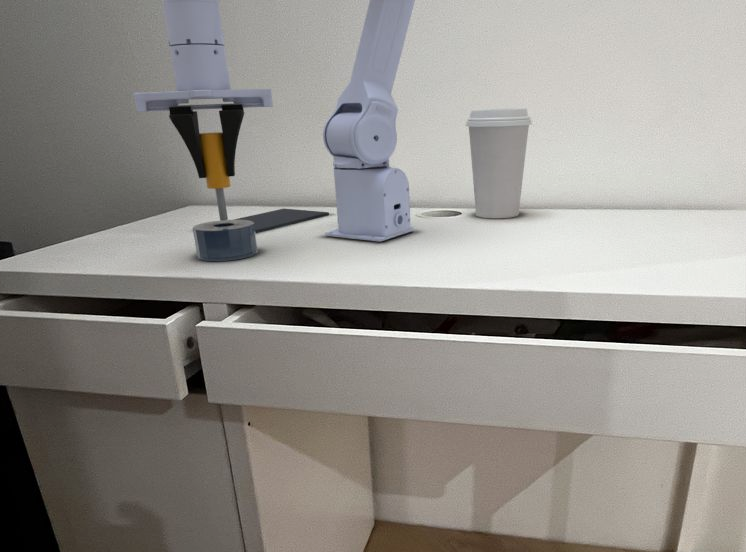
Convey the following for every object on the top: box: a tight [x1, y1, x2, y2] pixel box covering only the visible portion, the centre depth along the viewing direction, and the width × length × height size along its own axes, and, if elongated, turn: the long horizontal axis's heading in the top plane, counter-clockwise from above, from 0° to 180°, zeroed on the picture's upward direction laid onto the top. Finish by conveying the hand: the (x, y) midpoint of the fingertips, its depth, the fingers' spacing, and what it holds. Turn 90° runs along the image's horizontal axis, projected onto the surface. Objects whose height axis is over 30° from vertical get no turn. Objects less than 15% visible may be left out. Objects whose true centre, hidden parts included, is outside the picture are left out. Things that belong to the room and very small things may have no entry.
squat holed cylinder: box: [192, 219, 258, 262], centre depth 75 cm, size 7×7×4 cm
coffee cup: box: [465, 108, 533, 219], centre depth 92 cm, size 10×10×15 cm
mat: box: [233, 208, 330, 234], centre depth 95 cm, size 10×18×1 cm, turn 147°
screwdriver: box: [199, 131, 231, 221], centre depth 72 cm, size 3×3×10 cm
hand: (217, 176), depth 72 cm, fingers closed on screwdriver, 2 cm apart
